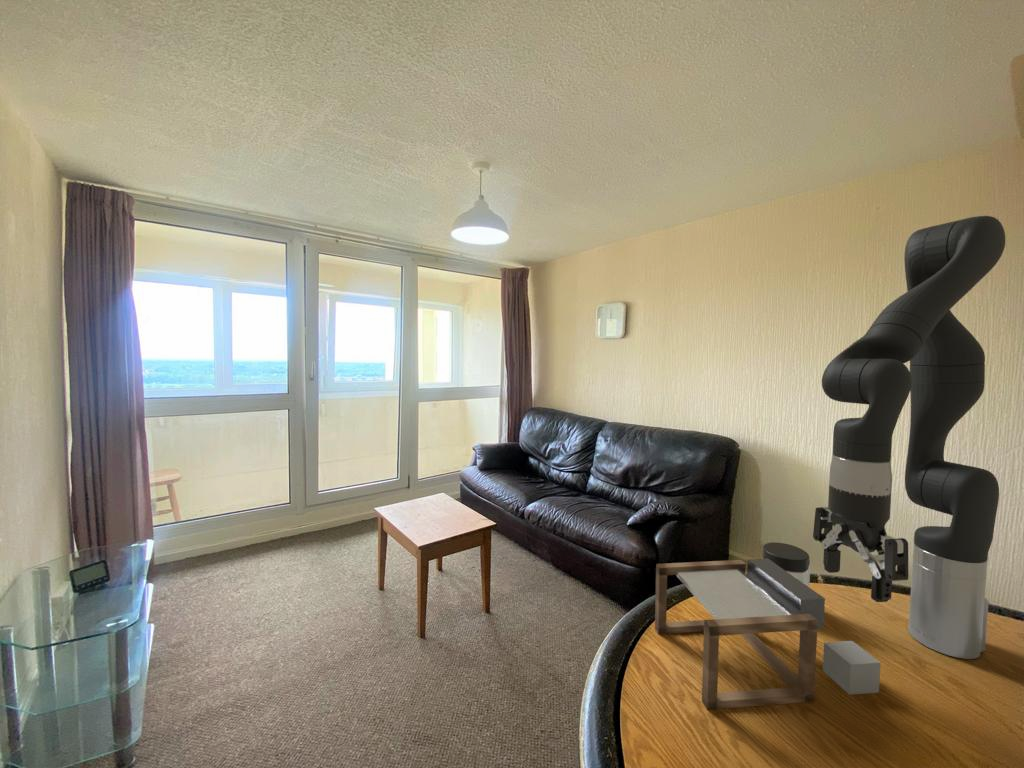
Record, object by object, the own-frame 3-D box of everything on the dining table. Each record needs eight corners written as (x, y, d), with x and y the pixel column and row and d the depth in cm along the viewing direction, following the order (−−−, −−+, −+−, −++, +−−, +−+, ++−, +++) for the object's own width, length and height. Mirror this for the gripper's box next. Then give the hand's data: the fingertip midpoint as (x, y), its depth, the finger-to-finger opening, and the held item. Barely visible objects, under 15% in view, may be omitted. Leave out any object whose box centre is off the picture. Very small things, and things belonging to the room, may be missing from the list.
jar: (819, 616, 84) (821, 558, 84) (785, 621, 83) (787, 563, 82) (781, 591, 93) (783, 539, 92) (750, 596, 91) (752, 543, 91)
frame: (738, 623, 82) (740, 559, 81) (813, 701, 64) (817, 619, 63) (654, 628, 81) (656, 563, 80) (707, 709, 62) (709, 626, 61)
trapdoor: (763, 581, 80) (764, 556, 79) (827, 632, 65) (829, 601, 65) (675, 586, 78) (676, 560, 78) (720, 638, 64) (721, 607, 63)
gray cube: (850, 669, 70) (851, 640, 70) (878, 692, 65) (880, 662, 65) (822, 671, 70) (824, 642, 70) (849, 695, 65) (850, 664, 65)
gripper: (929, 500, 59) (922, 611, 60) (842, 472, 73) (838, 562, 74) (880, 502, 58) (874, 614, 59) (801, 473, 72) (798, 564, 73)
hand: (854, 585), depth 67 cm, fingers open, 8 cm apart
